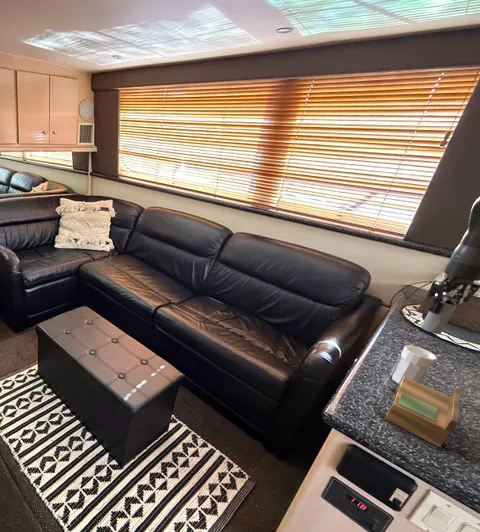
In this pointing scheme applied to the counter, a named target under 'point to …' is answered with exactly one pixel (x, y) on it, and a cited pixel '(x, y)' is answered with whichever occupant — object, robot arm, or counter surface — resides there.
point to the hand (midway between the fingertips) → (440, 312)
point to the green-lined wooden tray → (424, 411)
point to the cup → (413, 363)
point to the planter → (439, 318)
